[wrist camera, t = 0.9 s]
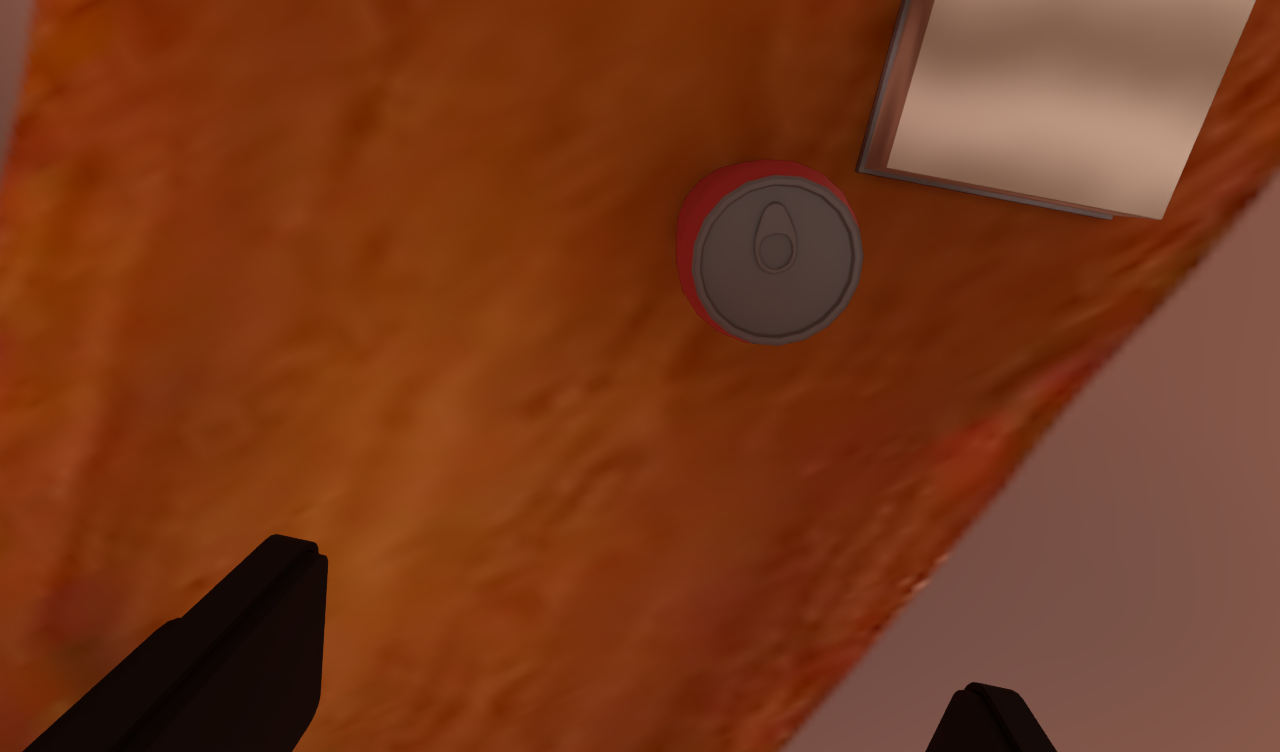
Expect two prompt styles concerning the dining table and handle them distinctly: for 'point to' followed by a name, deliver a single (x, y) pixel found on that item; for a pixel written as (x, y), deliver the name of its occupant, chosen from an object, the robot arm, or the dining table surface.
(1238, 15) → the stand
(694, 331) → the dining table surface
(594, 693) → the dining table surface
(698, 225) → the beer can
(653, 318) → the dining table surface
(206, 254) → the dining table surface
